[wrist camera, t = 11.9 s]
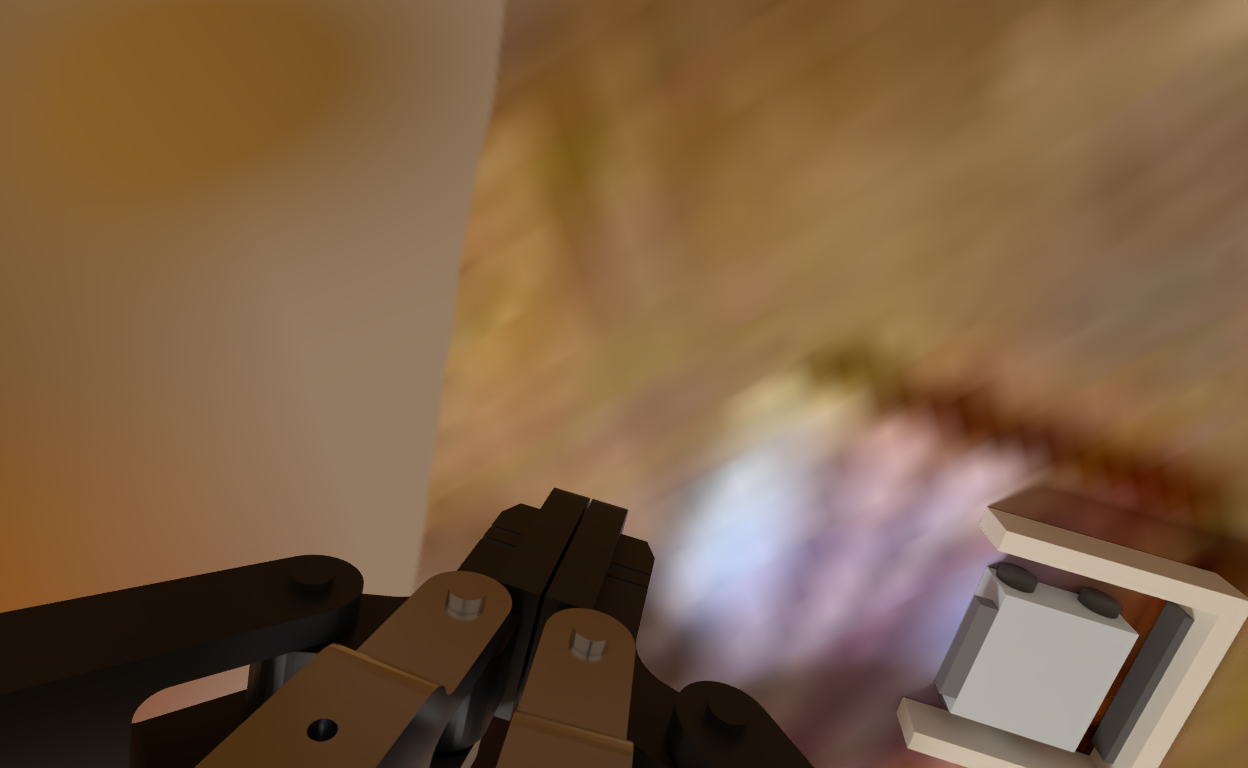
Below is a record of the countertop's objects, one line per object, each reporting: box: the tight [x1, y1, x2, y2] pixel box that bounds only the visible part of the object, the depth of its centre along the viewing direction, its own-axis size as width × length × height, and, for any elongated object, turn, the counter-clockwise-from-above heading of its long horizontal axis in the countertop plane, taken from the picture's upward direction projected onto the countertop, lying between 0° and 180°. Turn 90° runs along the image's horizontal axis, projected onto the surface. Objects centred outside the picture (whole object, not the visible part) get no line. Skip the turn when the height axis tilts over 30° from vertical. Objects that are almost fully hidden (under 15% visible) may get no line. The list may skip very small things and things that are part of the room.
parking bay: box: [896, 507, 1248, 768], centre depth 39 cm, size 15×13×3 cm
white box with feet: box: [934, 563, 1139, 753], centre depth 39 cm, size 9×8×3 cm
